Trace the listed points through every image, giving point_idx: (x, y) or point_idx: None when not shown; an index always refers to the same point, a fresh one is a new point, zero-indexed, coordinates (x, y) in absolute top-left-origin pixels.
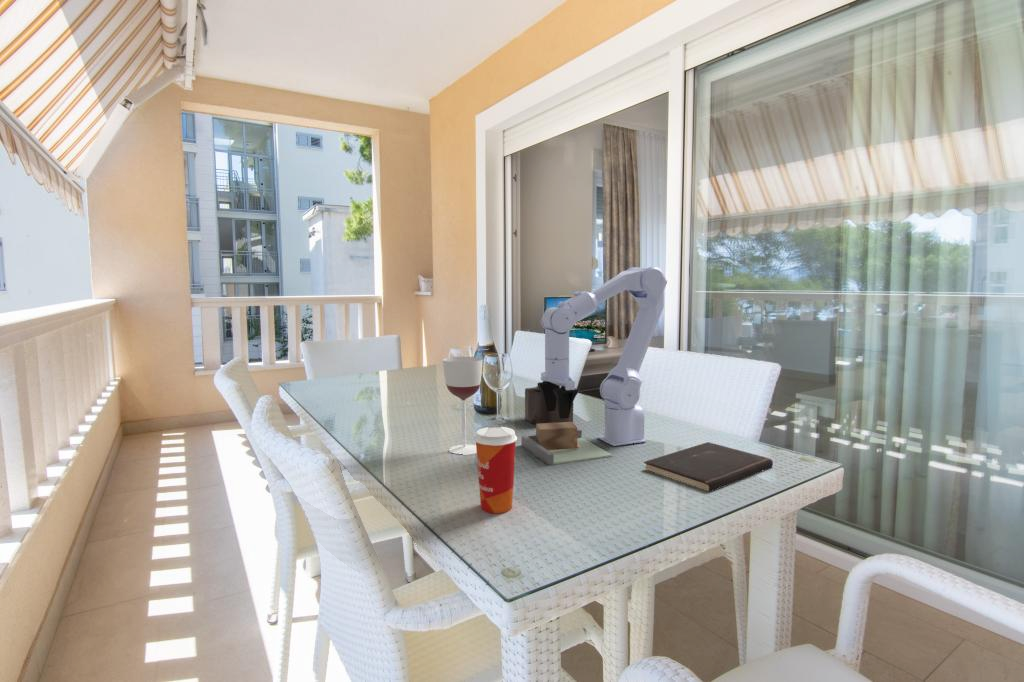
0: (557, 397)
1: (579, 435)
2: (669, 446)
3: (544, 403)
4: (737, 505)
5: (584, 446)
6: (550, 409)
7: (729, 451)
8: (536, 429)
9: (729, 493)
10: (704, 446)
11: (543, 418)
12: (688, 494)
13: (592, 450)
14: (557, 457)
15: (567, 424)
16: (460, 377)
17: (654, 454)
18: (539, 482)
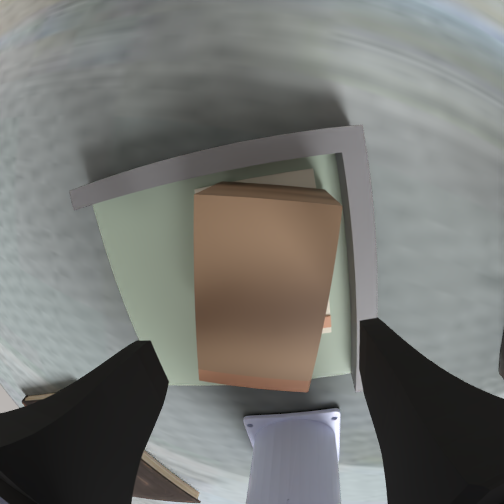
0: (24, 415)
1: (352, 372)
2: (226, 475)
3: (403, 340)
4: (6, 389)
5: None
6: (363, 349)
7: (150, 493)
8: (319, 198)
9: None
10: (174, 492)
11: None
12: (12, 371)
13: None
14: (139, 230)
15: (264, 364)
16: None
17: (176, 444)
18: (7, 145)
